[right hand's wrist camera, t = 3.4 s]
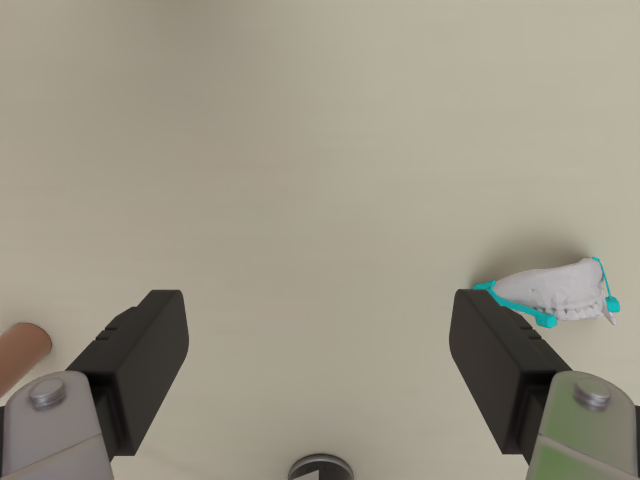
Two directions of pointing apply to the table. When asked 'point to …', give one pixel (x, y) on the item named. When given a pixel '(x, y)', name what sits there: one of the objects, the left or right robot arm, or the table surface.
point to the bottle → (21, 353)
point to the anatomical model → (556, 293)
